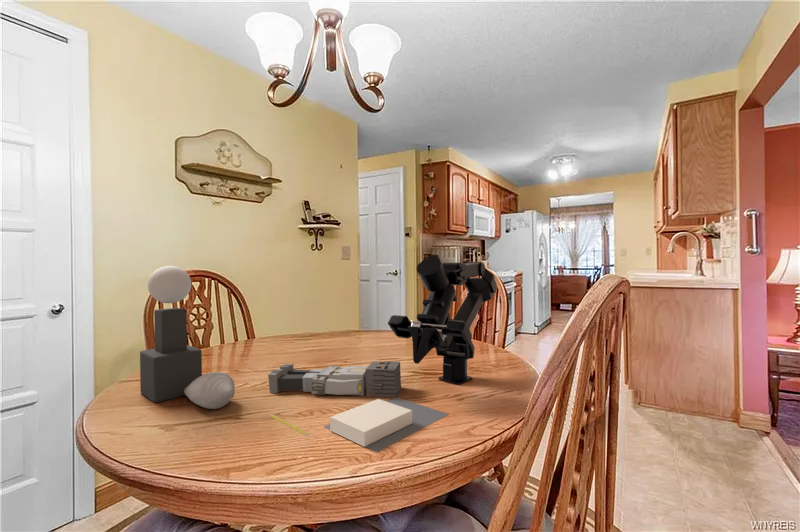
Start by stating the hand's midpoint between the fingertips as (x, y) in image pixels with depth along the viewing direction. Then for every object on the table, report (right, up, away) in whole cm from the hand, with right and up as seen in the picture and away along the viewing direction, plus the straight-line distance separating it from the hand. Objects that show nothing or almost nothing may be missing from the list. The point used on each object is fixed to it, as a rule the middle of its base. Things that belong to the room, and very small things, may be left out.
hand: (415, 362), depth 80 cm
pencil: (-24, -10, -10) cm, 27 cm away
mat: (-5, -9, -8) cm, 13 cm away
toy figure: (-18, -10, +11) cm, 23 cm away
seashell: (-45, -10, +3) cm, 46 cm away
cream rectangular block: (-4, -8, -6) cm, 11 cm away
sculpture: (-57, -10, +10) cm, 59 cm away
